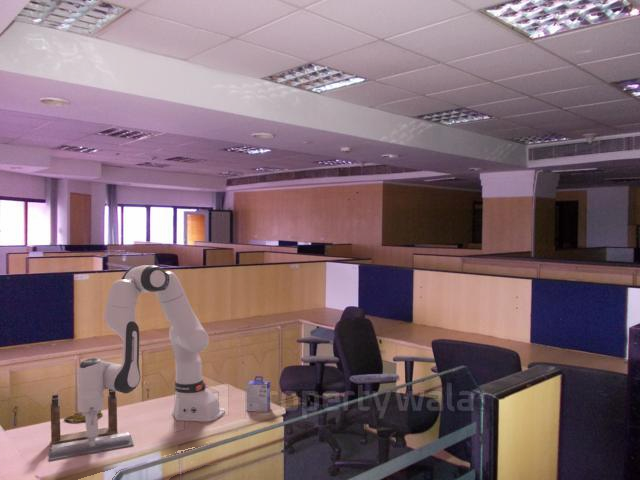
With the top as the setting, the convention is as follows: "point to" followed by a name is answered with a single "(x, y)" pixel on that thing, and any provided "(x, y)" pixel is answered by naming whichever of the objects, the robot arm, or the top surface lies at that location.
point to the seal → (79, 418)
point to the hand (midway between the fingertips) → (91, 441)
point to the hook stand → (60, 439)
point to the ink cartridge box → (258, 395)
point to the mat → (89, 450)
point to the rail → (86, 443)
